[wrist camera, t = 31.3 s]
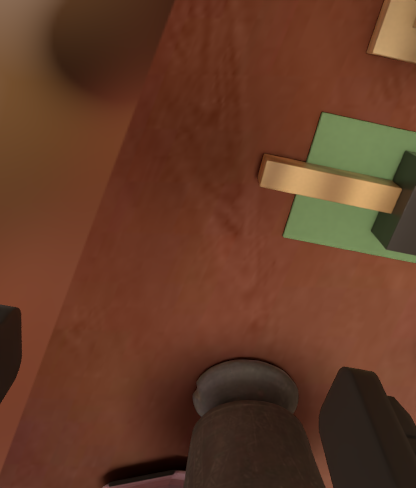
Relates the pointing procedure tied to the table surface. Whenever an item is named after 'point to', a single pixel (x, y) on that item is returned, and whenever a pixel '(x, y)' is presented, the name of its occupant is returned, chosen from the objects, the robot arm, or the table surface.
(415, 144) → the felt mat
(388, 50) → the stand
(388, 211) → the mallet
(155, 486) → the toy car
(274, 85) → the table surface
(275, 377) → the vase
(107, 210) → the table surface
